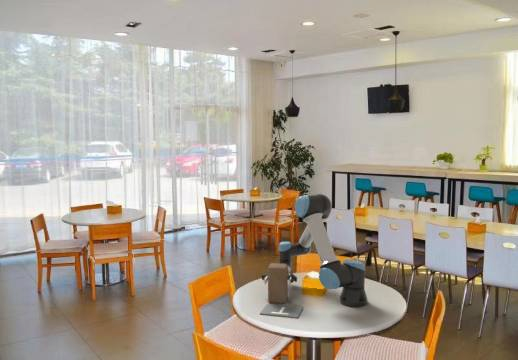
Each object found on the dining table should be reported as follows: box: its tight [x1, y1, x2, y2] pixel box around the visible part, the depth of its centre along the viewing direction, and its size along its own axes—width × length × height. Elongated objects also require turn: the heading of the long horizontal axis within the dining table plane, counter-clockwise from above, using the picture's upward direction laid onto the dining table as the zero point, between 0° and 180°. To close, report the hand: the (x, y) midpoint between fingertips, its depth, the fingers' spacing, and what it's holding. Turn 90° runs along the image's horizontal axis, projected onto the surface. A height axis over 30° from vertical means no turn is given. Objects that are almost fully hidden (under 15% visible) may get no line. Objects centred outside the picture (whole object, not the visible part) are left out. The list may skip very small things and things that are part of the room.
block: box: [267, 262, 289, 304], centre depth 263 cm, size 10×10×20 cm
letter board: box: [259, 303, 304, 319], centre depth 247 cm, size 20×14×1 cm
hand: (277, 282), depth 261 cm, fingers open, 13 cm apart
